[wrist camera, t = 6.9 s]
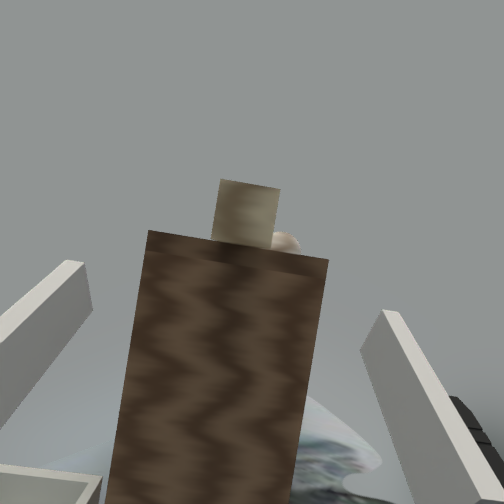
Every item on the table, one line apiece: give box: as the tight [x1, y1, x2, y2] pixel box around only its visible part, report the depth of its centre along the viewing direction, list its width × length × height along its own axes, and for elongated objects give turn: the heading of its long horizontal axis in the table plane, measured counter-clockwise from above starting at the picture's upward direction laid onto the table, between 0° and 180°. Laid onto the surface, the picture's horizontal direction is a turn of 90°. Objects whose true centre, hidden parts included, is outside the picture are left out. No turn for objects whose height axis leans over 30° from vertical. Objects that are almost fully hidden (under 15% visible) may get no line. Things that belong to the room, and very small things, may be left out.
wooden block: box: [105, 230, 329, 504], centre depth 35 cm, size 18×16×37 cm
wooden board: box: [211, 179, 280, 249], centre depth 30 cm, size 4×23×4 cm, turn 3°
